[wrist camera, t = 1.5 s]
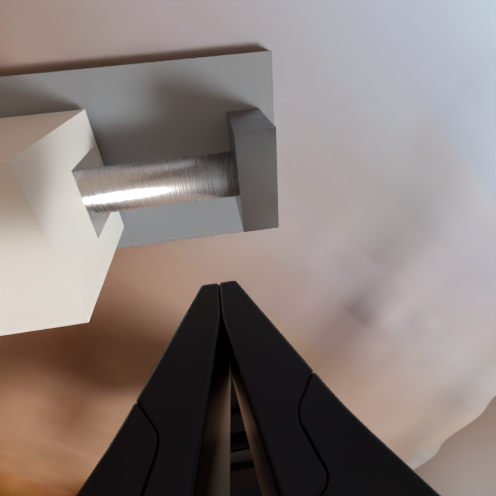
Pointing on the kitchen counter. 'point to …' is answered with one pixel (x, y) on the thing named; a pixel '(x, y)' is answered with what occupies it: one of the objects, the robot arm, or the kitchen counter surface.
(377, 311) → the kitchen counter surface
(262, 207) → the rail
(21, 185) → the collar
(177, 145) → the base board
